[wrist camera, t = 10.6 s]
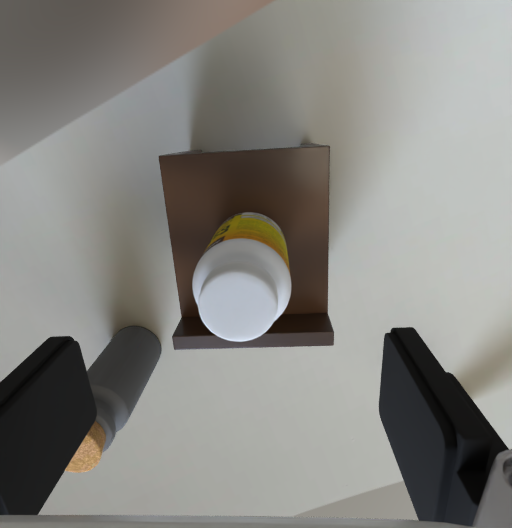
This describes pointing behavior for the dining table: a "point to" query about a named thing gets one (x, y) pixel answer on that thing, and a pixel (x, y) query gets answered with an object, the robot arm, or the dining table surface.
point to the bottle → (116, 390)
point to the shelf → (263, 202)
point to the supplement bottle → (243, 278)
